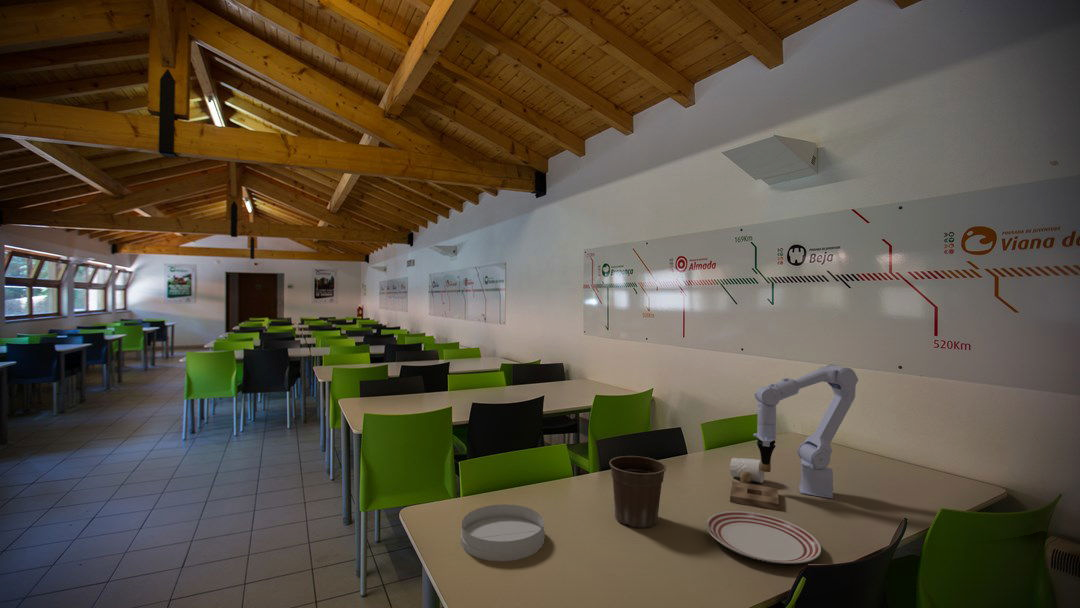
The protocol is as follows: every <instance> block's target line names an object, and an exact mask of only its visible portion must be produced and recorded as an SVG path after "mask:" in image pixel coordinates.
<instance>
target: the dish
mask: <svg viewBox="0 0 1080 608" xmlns="http://www.w3.org/2000/svg"><path fill="white" fill-rule="evenodd" d="M545 535H546V531H545V520H544V518H543V516H542V515H541V514H540V513H539V512H538V511H536V510H534V509H532V508H530V507H526V506H522V505H517V504H505V503H504V504H503V503H502V504H492V505H486V506H482V507H480V508H476V509H474V510H471V511H470V512H469V513H467V514H466V515H465V516H464V517H463V519H462V521H461V531H460V545H461V547H462V549H463V551H465V552H466V553H467V554H469V555H470V556H473V557H475V558H477V559H480V560H485V561H491V562H511V561H516V560H521V559H522V560H523V559H525V558H527V557H531V556H533V555H534V554H536V553H537V552H538V550H539V549H540V548H541V549H542V548H543V546H544V545H543V544H545V540H544V539H545V538H546V536H545ZM542 545H543V546H542ZM541 549H540V550H541ZM540 550H539V551H540Z"/></svg>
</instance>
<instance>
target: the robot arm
mask: <svg viewBox="0 0 1080 608" xmlns="http://www.w3.org/2000/svg"><path fill="white" fill-rule="evenodd" d="M823 382H824V383H827V385H829V386H830V388H831V390H832V391H833V393H834V395H833V398H832V399H831V401H830V403H829V405H828V407H827V408H826V411H825V413H823V416H822V418H821V420H820V422H819V423H818V425H817V427H816V429H815V431H814V433H813V434H812V435H810V436H808V437H806V439H805V440H804V442H802V443H800V445H799V446H798V448H797V455H798V457H799V459H801V460H800V462H801V463H800V464H801V465H800V484H798V489H799V492H800V494H802V495H808V496H816V497H822V498H828V499H834V493H833V492H834V475H833V474H834V472H833V468H832V467H828V465H830V462H831V455H832V453H833V449H832V446H831V443H832V441H833V439H834V437H835V435H836V434H837V432H838V430H839V428H840V426H841V424H842V423H843V421H844V419H845V417H846V415H847V413H848V411H849V410H850V408H851V406H852V405H853V403H854V400H855V398H856V389H857V388H856V387H857V384H858V382H859V379H858V376H857V374H856V372H855V370H853V369H852V368H850V367H844V366H840V365H835V364H832V363H831V364H827V365H826V366H820V367H819V368H818V369H816V370H813V371H812V372H811V371H810V372H808V373H807V374H805V375H802V376H800V377H798V378H795V379H792V378H790V377H789V378H788V377H784V378H783V377H782V379H781V380H780V381H777V382H774V383H769V384H768V386H765V385H763V386H760V387H758V389H756V392H755V393H754V397H755V399H756V401H757V418H756V419H757V420H756V421H757V423H756V424H757V427H756V431H757V432H755V433H753V437H755V438H757V441H756V446H757V448H758V450H759V453H760V454H759V455H760V458H761V460H762V464H767V465H769V464H770V460H771V461H772V455H773V452H774V450H775V448H776V440H777V435H776V434H777V433H776V432H777V405H778V404H779V403H780V401H782V400H784V399H788V398H790V397H792V396H795V395H797V394H798V393H799V391H800V390H801V389H804V388H806V387H809V386H812V385H816V384H819V383H823Z"/></svg>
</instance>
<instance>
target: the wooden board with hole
mask: <svg viewBox="0 0 1080 608" xmlns="http://www.w3.org/2000/svg"><path fill="white" fill-rule="evenodd" d="M778 490H779V489H778V488H777V487H773V486H772V487H770V486H764V485H758V484H751V483H750V484H746V483H741V481H740V482H738V481H732V483H731V489H730V493H729V502H730V503H735V504H738V505H739V504H741V505H746V506H753V507H757V508H764V509H769V510H775V511H780V502H779V501H780V500H779V491H778Z"/></svg>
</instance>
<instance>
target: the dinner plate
mask: <svg viewBox="0 0 1080 608" xmlns="http://www.w3.org/2000/svg"><path fill="white" fill-rule="evenodd" d="M705 526H706V530H707V532H708V533H709V535H711V536H712V538H713V539H714V540H716V542H718V543H719V544H721V545H722V546H723V547H725V548H727V549H729V550H731V551H732V552H735V553H737V554H739V555H741V556H744V557H747V558H750V559H753V560H756V559H757V561H760V560H761V561H760V562H765V561H766V562H765V563H773V564H785V565H786V564H788V565H789V564H790V565H791V564H803V563H808V562H811V561H814V560H816V559H818V558H819V556H820V555H821V553H822V547H821V544H820V542H819V541H818V539H816V538H815V536H813V535H812V534H811V533H809V532H808V531H807V530H806V529H803V528H802V527H800V526H798V525H796V524H795V523H792V522H789V521H787V520H785V519H781V518H778V517H775V516H772V515H768V514H764V513H759V512H758V513H757V512H753V511H742V510H741V511H740V510H730V511H729V510H728V511H721V512H718V513H715V514H713V515H711V516H709V517H708V518H707V520H706V523H705ZM711 536H710V537H711Z"/></svg>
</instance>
